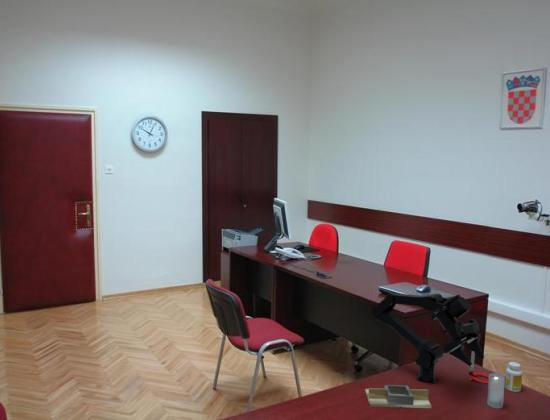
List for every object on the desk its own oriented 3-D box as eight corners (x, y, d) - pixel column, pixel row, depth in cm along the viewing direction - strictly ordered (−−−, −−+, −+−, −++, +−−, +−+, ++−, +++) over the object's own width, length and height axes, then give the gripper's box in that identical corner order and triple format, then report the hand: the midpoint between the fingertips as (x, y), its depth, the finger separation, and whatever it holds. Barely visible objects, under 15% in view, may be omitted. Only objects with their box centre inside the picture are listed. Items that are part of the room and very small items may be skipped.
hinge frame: (365, 391, 179) (365, 379, 178) (422, 393, 178) (423, 381, 178) (370, 406, 168) (370, 394, 167) (431, 408, 167) (431, 395, 167)
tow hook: (493, 378, 192) (469, 372, 196) (497, 347, 191) (472, 342, 194) (493, 387, 185) (467, 381, 188) (497, 355, 183) (471, 349, 187)
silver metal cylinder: (487, 400, 174) (488, 372, 172) (502, 402, 172) (504, 374, 171) (487, 406, 169) (489, 377, 168) (503, 409, 167) (505, 380, 166)
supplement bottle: (522, 388, 183) (524, 364, 182) (518, 393, 179) (520, 368, 178) (507, 384, 186) (509, 359, 185) (503, 388, 182) (504, 364, 181)
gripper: (452, 318, 170) (481, 358, 163) (477, 308, 183) (505, 344, 176) (431, 333, 177) (458, 372, 170) (456, 322, 189) (482, 358, 182)
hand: (477, 361), depth 174 cm, fingers open, 9 cm apart
